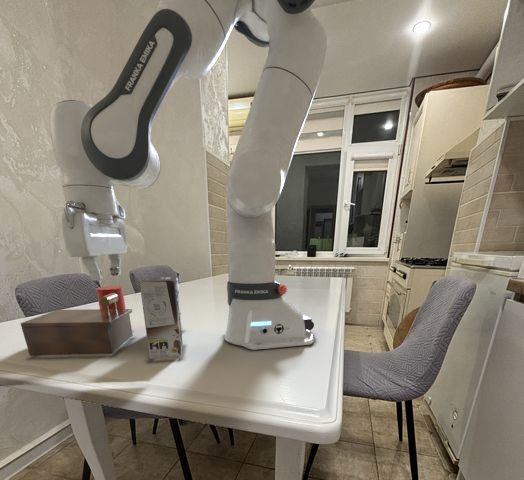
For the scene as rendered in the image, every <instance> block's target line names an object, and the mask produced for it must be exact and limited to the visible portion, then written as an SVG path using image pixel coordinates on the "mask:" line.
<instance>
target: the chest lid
mask: <svg viewBox="0 0 524 480" xmlns="http://www.w3.org/2000/svg"><path fill="white" fill-rule="evenodd" d="M117 300H118V296H117V294H115V293H111V294H108V295H106V296H103V297H101V298H100V300H99V302H100V304H101V305H102V306H104V309H100V308H99V309H97V308H95V309H89V308H88V309H87V308H86V309H55V310H53V311H50V312H47V313H45V314H41V315H39V316H36V317H34V318H31V319H29V320H25V321H23V322H20V327H21V328H22V327H62V326H111V325H113V324H115V323H116V322H118V321H119V320H121V319H122V318H124V317H125V316H127V315H129V316H130V314H131V313H133V309H132V308H126V309H117V306H116V301H117ZM99 302H98V303H99ZM110 304H112V308H113V309H109V307H108V305H110Z"/></svg>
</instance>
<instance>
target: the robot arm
mask: <svg viewBox="0 0 524 480" xmlns="http://www.w3.org/2000/svg"><path fill="white" fill-rule="evenodd" d="M315 2H316V0H160V1H159V2H158V5H157V7H156V10H155V11H154V14H153V16H152V17H151V18H150V20H149V21H148V23H147V25H146V26H145V28H144V29H143V31H142V33H141V35H140V36H139V39H138V40H137V42H136V44H135V46H134V48H133V50H132V52H131V54H130V56H129V57H128V59H127V61H126V63H125V65H124V67H123V69H122V70H121V72H120V75H119V76H118V78H117V80H116V82H115V84H114V85H113V87H112V88H111V90H110V91H109V92H108V93H107V94H106V95H105V96H104V97H103V98H102V99H100V100H99V101H98V102H96V103H95V104H94V105H91V104H90V103H88V102H85V101H82V100H75V99H67V100H62V101H58V102H57V103H55V104H54V105H52V107H51V108H50V111H49V116H48V124H49V133H50V138H51V145H52V150H53V153H54V159H55V163H56V164H57V166H58V168H59V170H60V174H61V188H62V192H63V197H64V201H65V204H64V206H63V207H62V208H63V213H62V214H61V219H60V220H61V229H62V234H63V240H64V246H65V250H66V252H67V253H68V255H69V256H70V257H71V258H81V259H82V263H83V265H84V266H85V268H86V270H87V272H88V273H89V278H90V280H91V281H92V282H98V281H99V282H100V281H102V280H104V276H103V270H100V268H99V265H98V262H99V261H98V256H100V257H101V256H108V259H109V260H110V267H109V272H110V275H111V276H113V277H115V276H121V275H122V270H121V269H122V268H121V263H122V257H121V254H127V253H128V248H129V245H128V237H127V229H126V223H125V221H124V219H126V211H125V208H124V207H123V206H122V205H121V204H120V203H119V201H118V199H117V197H116V193H115V186H116V185H121V186H125V187H128V188H132V189H139V190H140V189H147V188H149V187H151V186H152V185H154V184H155V183H156V182H157V180H158V179H159V176H160V174H161V160H160V156H159V154H158V152H157V150H156V148H155V146H154V145H153V143H152V141H151V134H152V133H151V132H152V127H153V124H154V122H155V120H156V118H157V116H158V114H159V113H160V110H161V108H162V107H163V105H164V103H165V101H166V99H167V98H168V96H169V94H170V91H171V89H172V87H174V84H175V83H176V82H177V81H178V80H179V79H180V78H185V79H188V80H201V79H203V78H204V77H205V76H206V75H207V74H208V73H209V72H210V71H211V69H212V67H214V65H215V63H216V62H217V60H218V58H219V56H220V55H221V53H222V51H223V49H224V47H225V45H226V43H227V41H228V39H229V36H230V34H231V32H232V30H233V28H234V30H235V31H236V32H238V33H240V34H241V35H243V36H244V37H245V38H246V39H247V40H248V41H250V43H251V44H253V45H255V46H256V47H259V48H268V52H267V56H266V60H265V62H264V66H263V68H262V71H261V74H260V77H259V80H258V83H257V86H256V89H255V92H254V95H253V98H252V101H251V104H250V107H249V110H248V113H247V117H246V119H245V122H244V124H243V127H242V130H241V133H240V134H239V135H240V136H239V139H238V141H237V144H236V147H235V150H234V152H233V155H232V158H231V161H230V164H229V167H228V170H227V173H226V178H225V188H224V197H225V199H224V201H225V219H226V221H225V222H226V241H227V242H226V243H227V244H226V245H227V266H228V267H227V268H228V269H227V270H228V271H227V272H228V281H227V283H226V284H227V285H226V300H227V301H226V302H227V305H228V314H227V315H228V316H227V323H226V328H225V329H226V330H225V333H224V337H223V339H224V340H225V341H226V342H228V343H229V344H232V345H236V346H240V347H244V348H246V349H248V350H253V351H254V350H256V351H257V350H265V349H267V350H268V349H278V348H279V349H280V348H288V347H289V348H290V347H298V346H299V347H300V346H310V345H312V344H313V343H314V341H315V340H314V339H315V338H314V334H313V332H312V330H313V329H314V327H315V324H314V323H315V322H313V318H311V317H309V316H307V315H303V314H302V312H301V311H300V310H299V309H297V307H295V306H294V305H293V304H291V303H290V302H289V301H288V300H286V298H284V297H283V296H284V295H285V294H286V293H287V292H288V287H287V286H286V285H285V284H282V283H280V282H278V281H277V280H276V243H275V233H274V222H273V208H274V207H275V205H276V204H277V203H278V201H279V198H280V197H281V193H282V190H283V187H284V185H285V181H286V180H287V179H286V178H287V176H288V172H289V170H290V166H291V163H292V159H293V156H294V152H295V149H296V145H297V142H298V140H299V138H300V135H301V132H302V130H303V128H304V125H305V121H306V119H307V117H308V113H309V111H310V109H311V106H312V103H313V100H314V97H315V96H316V95H315V94H316V92H317V89H318V86H319V83H320V79H321V76H322V70H323V68H324V63H325V59H326V54H327V49H328V40H327V34H326V33H327V32H326V30H325V27H324V25H323V24H322V22H321V21H320V20H319V19H318V18H317V17H316V16H315V15H314V13H313V11H312V5H313V4H314V3H315Z"/></svg>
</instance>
